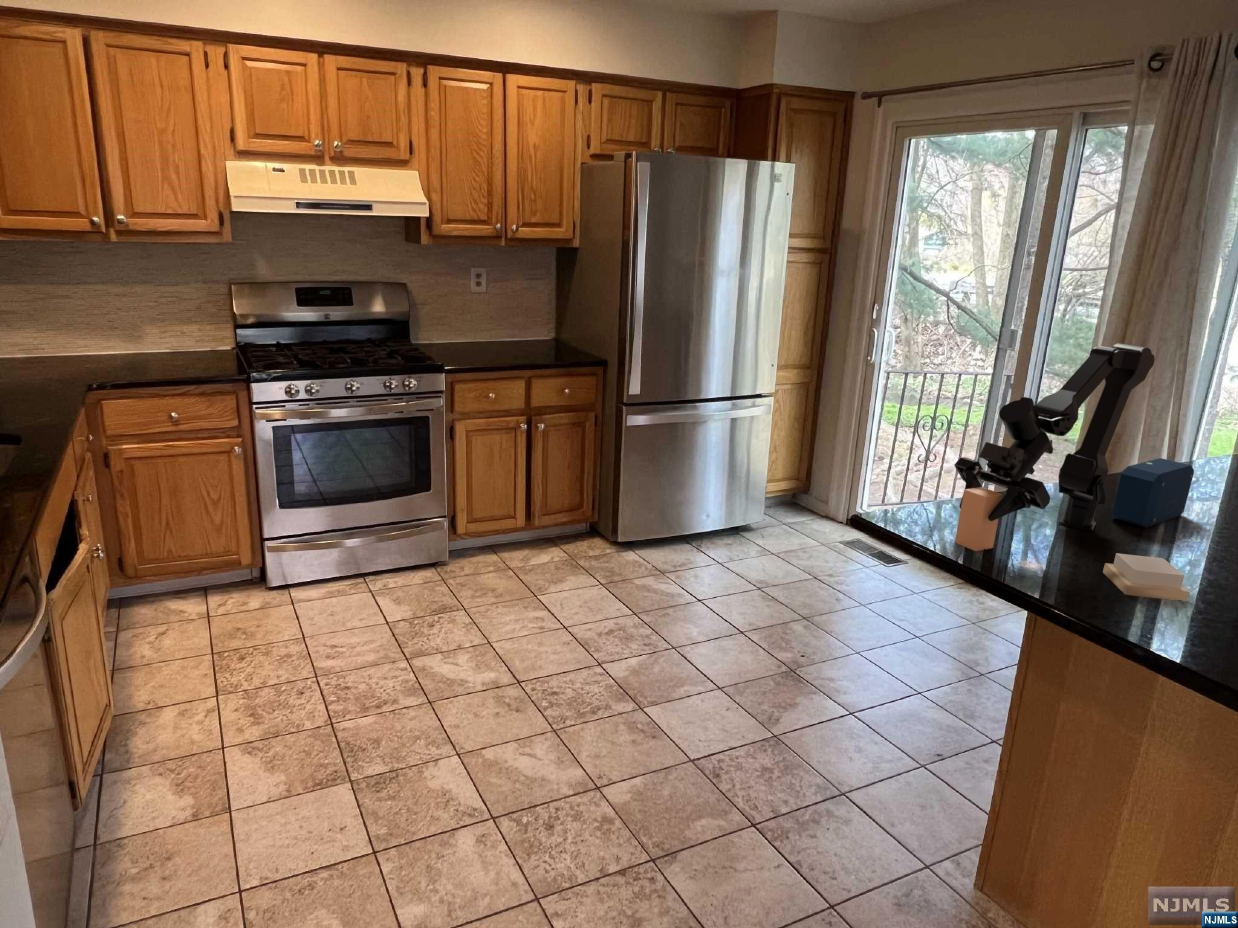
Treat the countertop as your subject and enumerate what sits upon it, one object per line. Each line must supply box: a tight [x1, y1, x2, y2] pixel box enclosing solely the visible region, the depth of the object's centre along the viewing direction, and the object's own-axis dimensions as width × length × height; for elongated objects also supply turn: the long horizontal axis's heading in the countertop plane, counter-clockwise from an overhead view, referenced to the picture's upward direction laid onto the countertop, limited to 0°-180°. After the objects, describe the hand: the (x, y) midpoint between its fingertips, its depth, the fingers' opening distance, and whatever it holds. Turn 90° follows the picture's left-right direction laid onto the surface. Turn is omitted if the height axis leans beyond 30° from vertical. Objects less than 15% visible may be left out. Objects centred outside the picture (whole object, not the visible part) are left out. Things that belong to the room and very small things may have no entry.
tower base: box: [1102, 562, 1190, 602], centre depth 151 cm, size 10×10×2 cm
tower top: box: [1112, 552, 1185, 589], centre depth 150 cm, size 8×8×2 cm
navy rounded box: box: [1111, 429, 1195, 529], centre depth 188 cm, size 21×9×20 cm, turn 126°
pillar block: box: [954, 486, 1004, 552], centre depth 165 cm, size 5×5×11 cm
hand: (974, 514), depth 164 cm, fingers open, 6 cm apart
